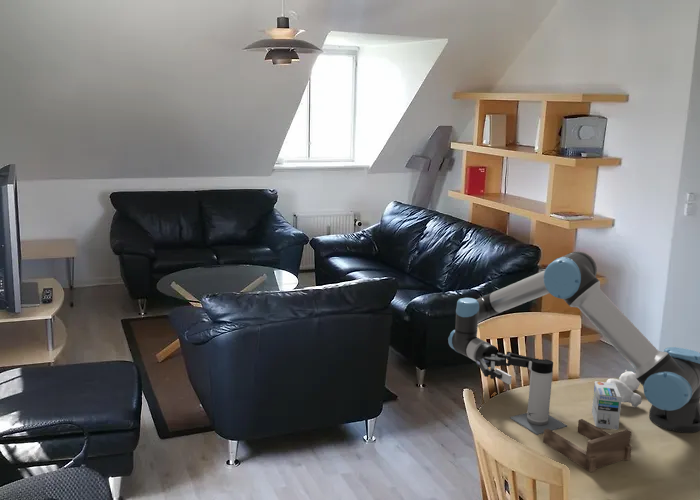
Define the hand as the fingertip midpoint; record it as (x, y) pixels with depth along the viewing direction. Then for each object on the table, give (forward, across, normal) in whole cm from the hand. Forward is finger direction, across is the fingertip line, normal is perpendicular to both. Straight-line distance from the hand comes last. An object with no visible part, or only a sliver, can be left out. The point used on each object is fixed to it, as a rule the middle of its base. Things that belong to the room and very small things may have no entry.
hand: (527, 376), depth 214 cm
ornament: (+2, -45, -13) cm, 47 cm away
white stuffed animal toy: (+9, -34, -13) cm, 37 cm away
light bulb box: (+14, -19, -13) cm, 27 cm away
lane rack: (+25, 0, -13) cm, 28 cm away
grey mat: (+6, 0, -13) cm, 14 cm away
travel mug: (+6, 0, -13) cm, 14 cm away
